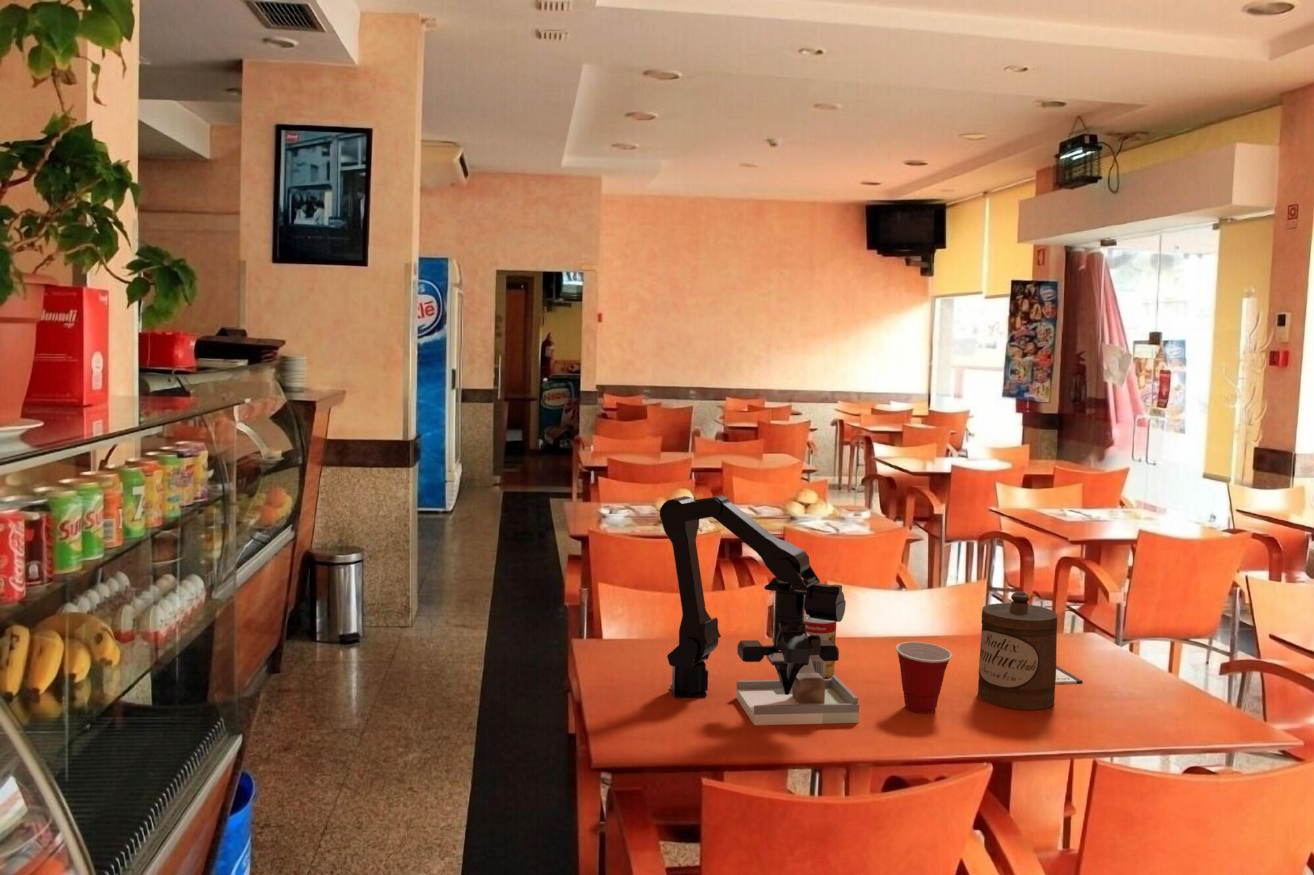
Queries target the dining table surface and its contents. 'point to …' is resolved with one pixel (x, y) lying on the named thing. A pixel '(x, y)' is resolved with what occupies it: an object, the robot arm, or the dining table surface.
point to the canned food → (825, 632)
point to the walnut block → (809, 688)
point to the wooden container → (1018, 654)
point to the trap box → (796, 704)
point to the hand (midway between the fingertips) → (786, 694)
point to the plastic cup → (922, 674)
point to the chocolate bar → (1065, 677)
